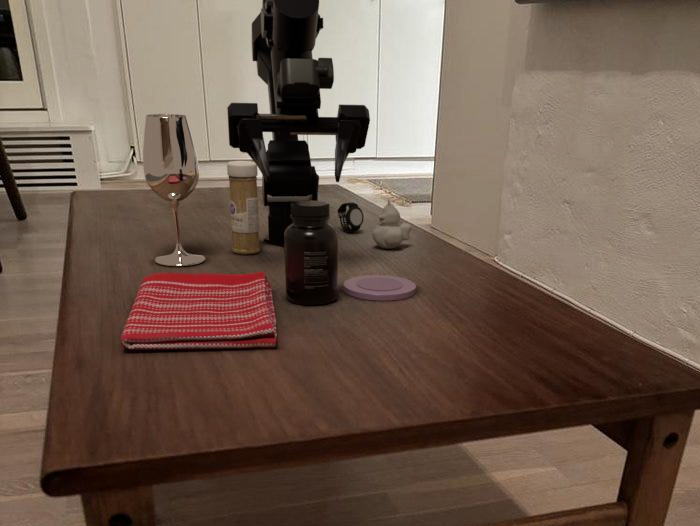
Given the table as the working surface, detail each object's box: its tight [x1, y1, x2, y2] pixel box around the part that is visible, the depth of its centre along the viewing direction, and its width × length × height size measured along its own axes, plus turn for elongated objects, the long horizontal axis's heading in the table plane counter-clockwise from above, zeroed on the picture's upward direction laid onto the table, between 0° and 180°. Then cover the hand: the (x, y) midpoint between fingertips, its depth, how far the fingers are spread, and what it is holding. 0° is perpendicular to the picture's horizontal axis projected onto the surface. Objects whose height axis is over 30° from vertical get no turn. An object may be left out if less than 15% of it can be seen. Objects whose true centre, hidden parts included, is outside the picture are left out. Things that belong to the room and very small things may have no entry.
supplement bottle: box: [283, 200, 339, 306], centre depth 94 cm, size 7×7×12 cm
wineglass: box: [142, 113, 206, 268], centre depth 108 cm, size 8×8×20 cm
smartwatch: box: [336, 202, 365, 233], centre depth 133 cm, size 4×5×5 cm
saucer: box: [342, 274, 417, 302], centre depth 101 cm, size 10×10×1 cm
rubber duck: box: [372, 197, 412, 250], centre depth 122 cm, size 5×7×8 cm
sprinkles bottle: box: [226, 160, 261, 256], centre depth 115 cm, size 5×5×14 cm
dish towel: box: [119, 270, 278, 351], centre depth 89 cm, size 17×24×3 cm
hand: (303, 180), depth 97 cm, fingers open, 9 cm apart
